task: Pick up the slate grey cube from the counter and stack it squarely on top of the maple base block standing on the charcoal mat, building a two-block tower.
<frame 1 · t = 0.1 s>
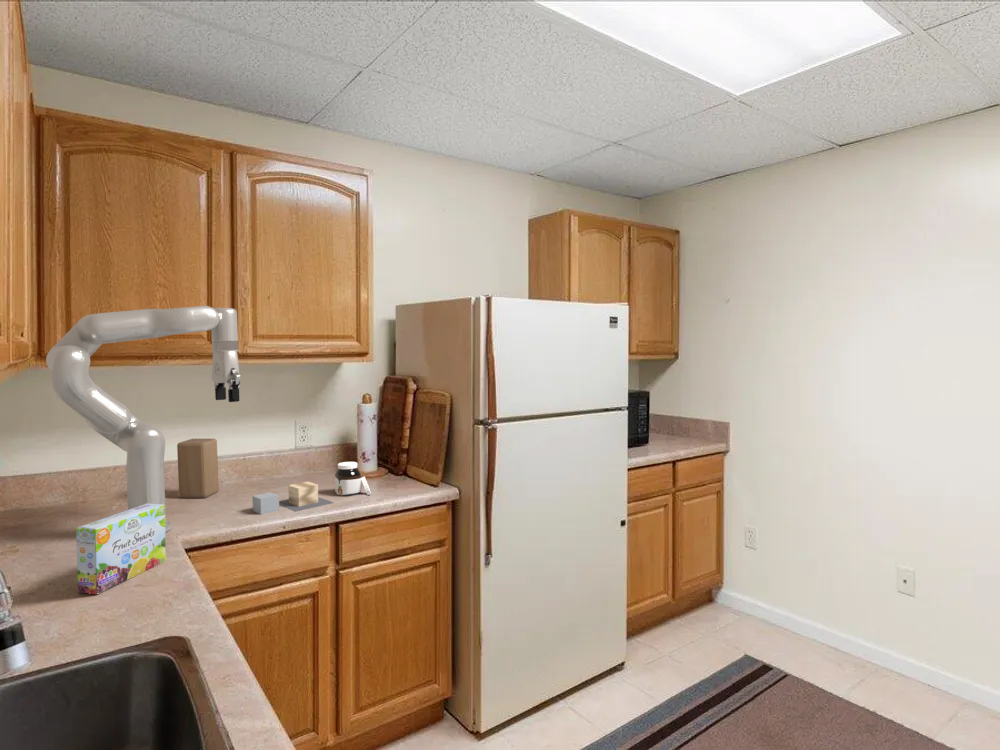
hand: (227, 400, 192), 37 cm above the worktop, tool pointing down, fingers open, 9 cm apart
grey cube: (266, 513, 194), on the worktop
block: (199, 495, 219), on the worktop
build mat: (303, 505, 204), on the worktop
base block: (303, 502, 204), point 1 cm above the worktop, touching build mat
snack box: (125, 577, 143), on the worktop
spread jar: (354, 495, 217), on the worktop
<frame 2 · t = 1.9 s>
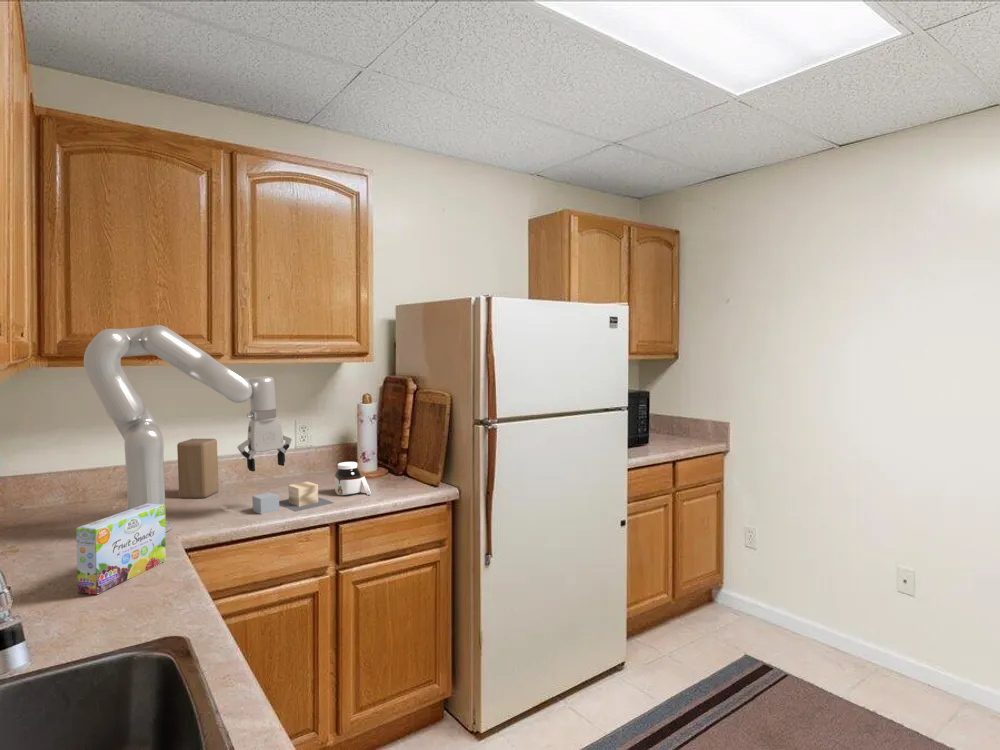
hand: (266, 467, 194), 15 cm above the worktop, tool pointing down, fingers open, 9 cm apart
nothing on the worktop moved.
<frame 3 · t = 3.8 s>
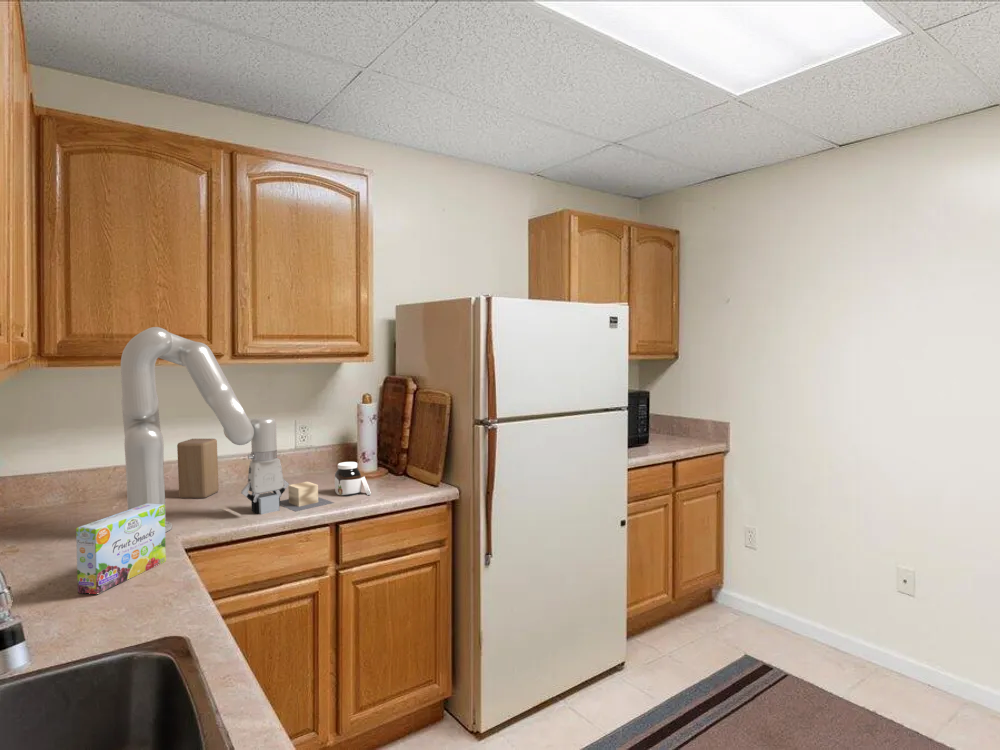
hand: (266, 510, 194), 1 cm above the worktop, tool pointing down, fingers closed on grey cube, 6 cm apart
grey cube: (266, 513, 194), on the worktop, touching gripper
everything else where it was.
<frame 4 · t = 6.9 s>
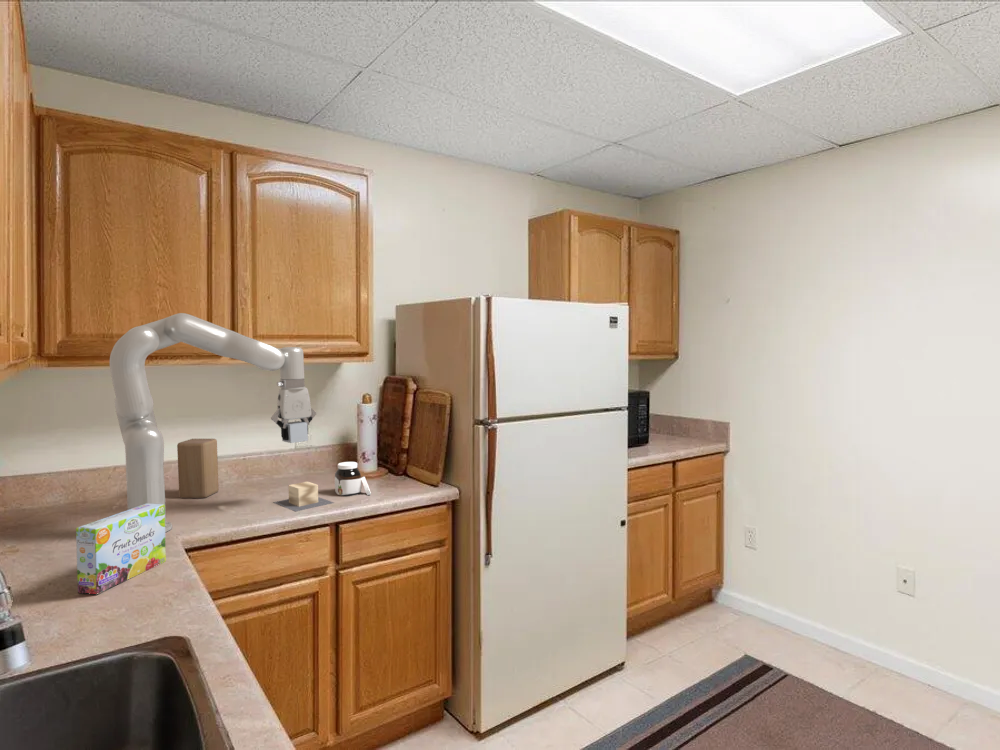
hand: (295, 437, 201), 23 cm above the worktop, tool pointing down, fingers closed on grey cube, 6 cm apart
grey cube: (295, 440, 201), point 22 cm above the worktop, touching gripper
everything else where it was.
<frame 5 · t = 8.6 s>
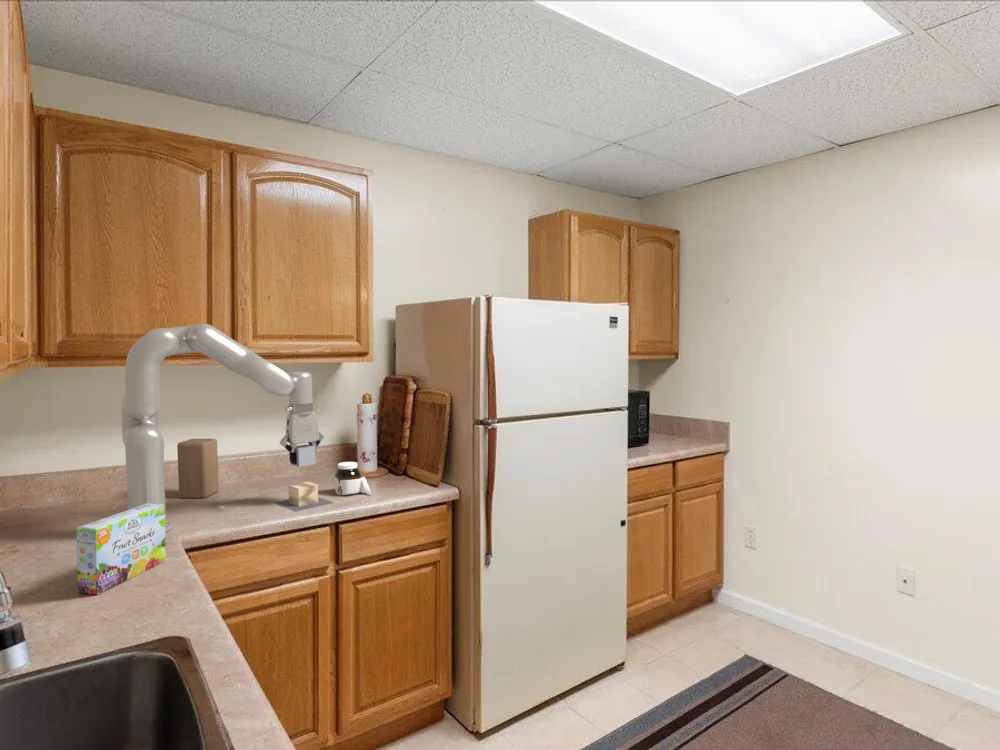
hand: (303, 461, 203), 15 cm above the worktop, tool pointing down, fingers closed on grey cube, 6 cm apart
grey cube: (303, 464, 203), point 14 cm above the worktop, touching gripper
everything else where it was.
when the fingers open (9 cm above the worktop, at t = 10.1 s): grey cube drops 1 cm, resting on base block.
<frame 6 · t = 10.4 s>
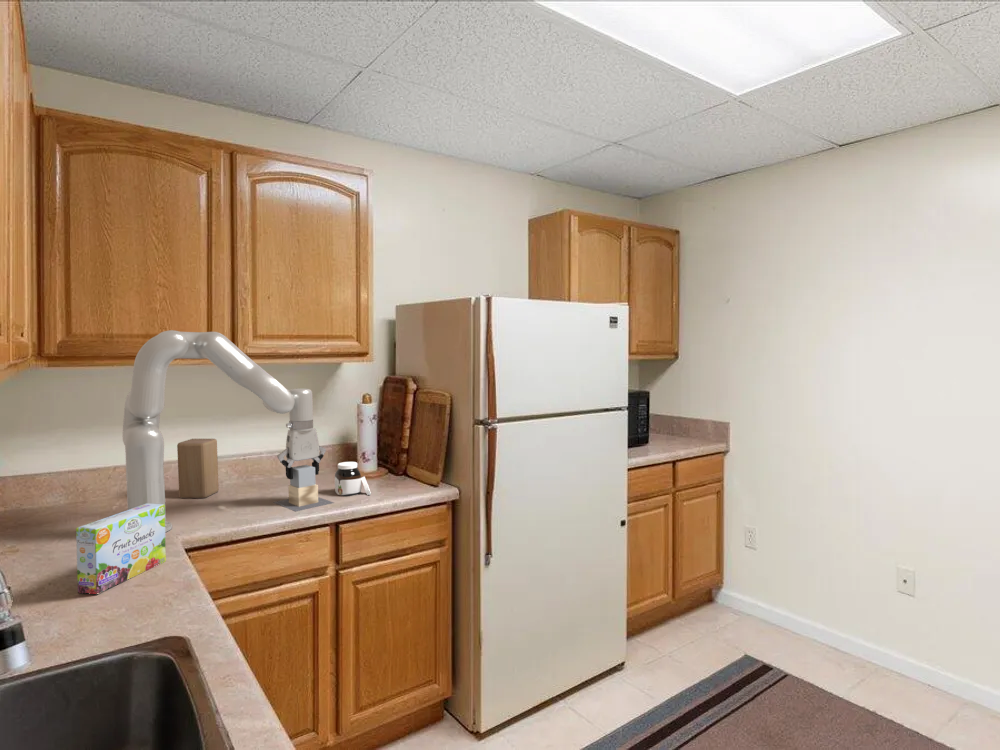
hand: (302, 476, 203), 10 cm above the worktop, tool pointing down, fingers open, 8 cm apart
grey cube: (302, 485, 203), point 7 cm above the worktop, touching base block
base block: (303, 502, 204), point 1 cm above the worktop, touching build mat, grey cube
everything else where it was.
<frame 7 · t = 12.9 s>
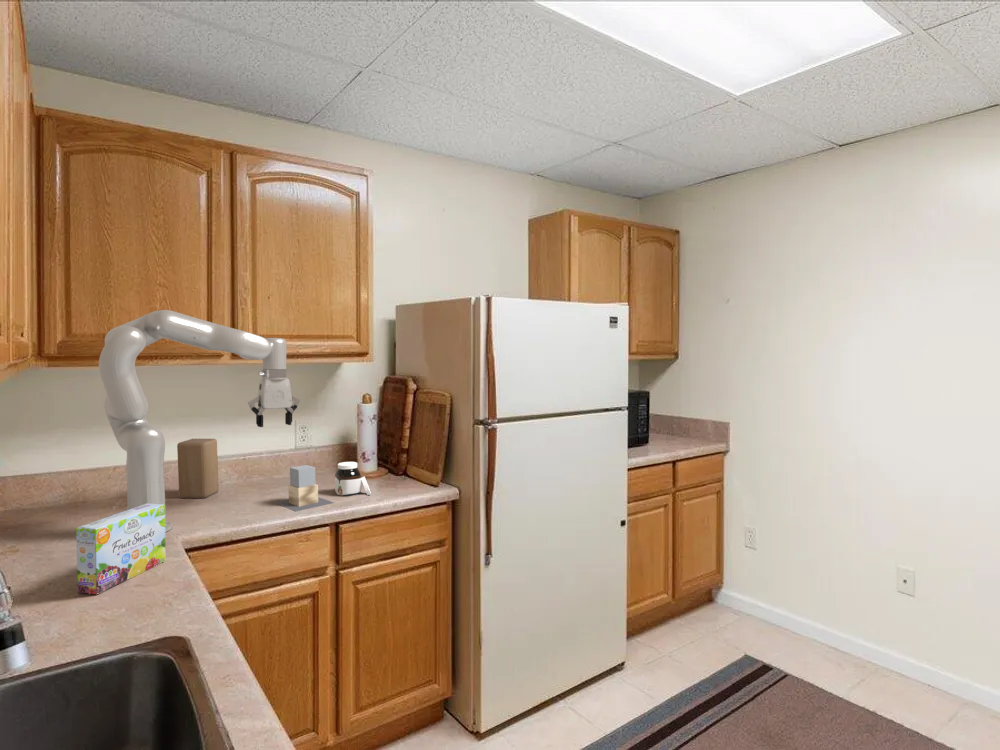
hand: (274, 425, 203), 27 cm above the worktop, tool pointing down, fingers open, 9 cm apart
nothing on the worktop moved.
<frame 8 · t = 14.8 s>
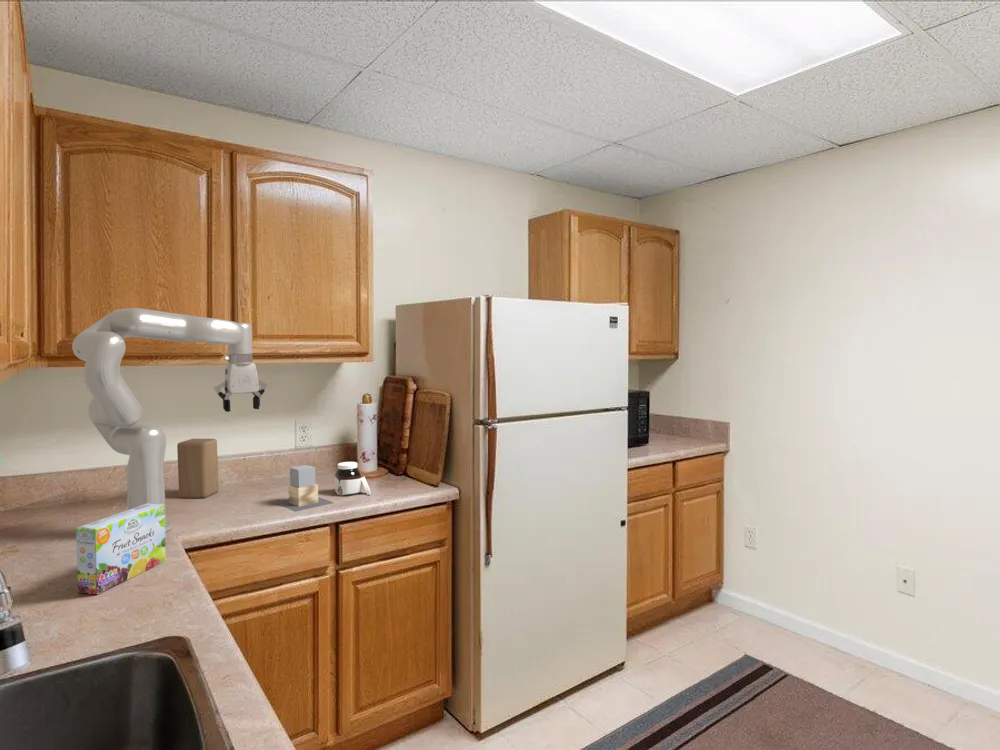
hand: (242, 410, 204), 32 cm above the worktop, tool pointing down, fingers open, 9 cm apart
nothing on the worktop moved.
at the end: grey cube 0.1 cm off-centre on the base block, point 6.0 cm above the base block's base; grey cube tilted 0°; the gripper is holding nothing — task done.
